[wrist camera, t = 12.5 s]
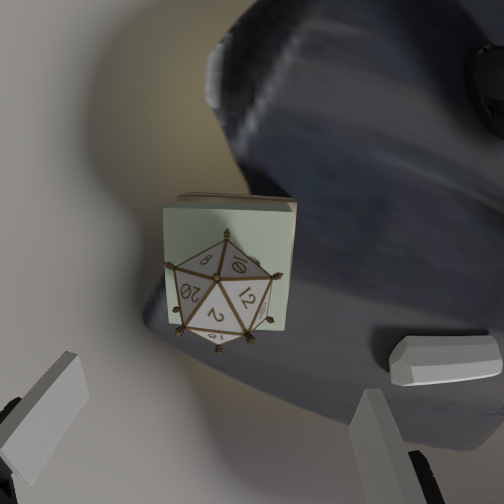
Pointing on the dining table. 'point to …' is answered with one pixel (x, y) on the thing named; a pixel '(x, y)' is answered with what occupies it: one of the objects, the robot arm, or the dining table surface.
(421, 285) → the dining table surface
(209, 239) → the tower top block
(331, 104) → the dining table surface
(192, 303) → the game die
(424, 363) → the chamfered grey bar
